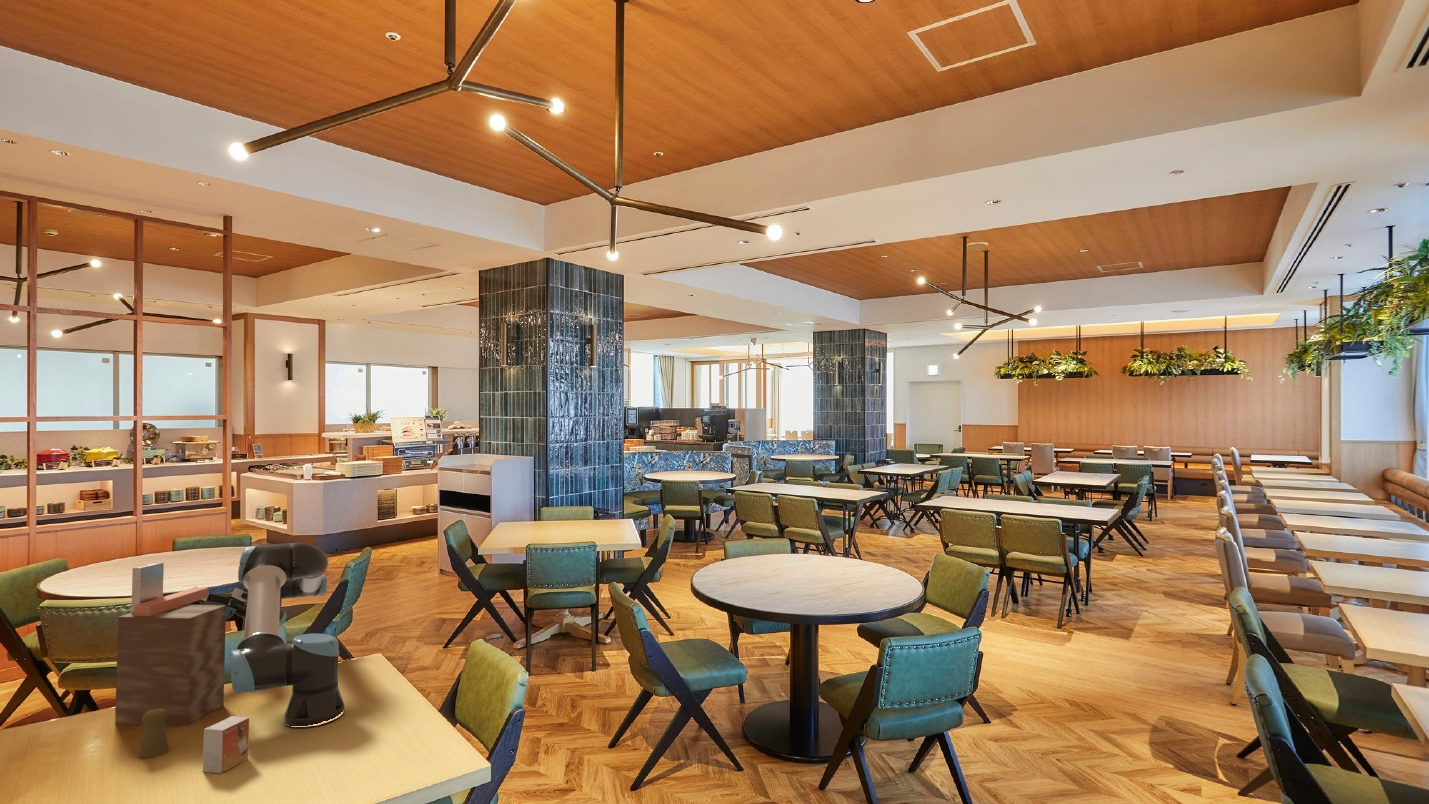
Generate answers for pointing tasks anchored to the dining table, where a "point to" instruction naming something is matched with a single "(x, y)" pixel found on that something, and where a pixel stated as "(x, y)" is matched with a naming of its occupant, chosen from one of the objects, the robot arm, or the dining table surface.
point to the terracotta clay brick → (170, 601)
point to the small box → (225, 744)
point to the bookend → (147, 583)
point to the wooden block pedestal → (171, 664)
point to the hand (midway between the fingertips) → (213, 591)
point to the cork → (154, 734)
